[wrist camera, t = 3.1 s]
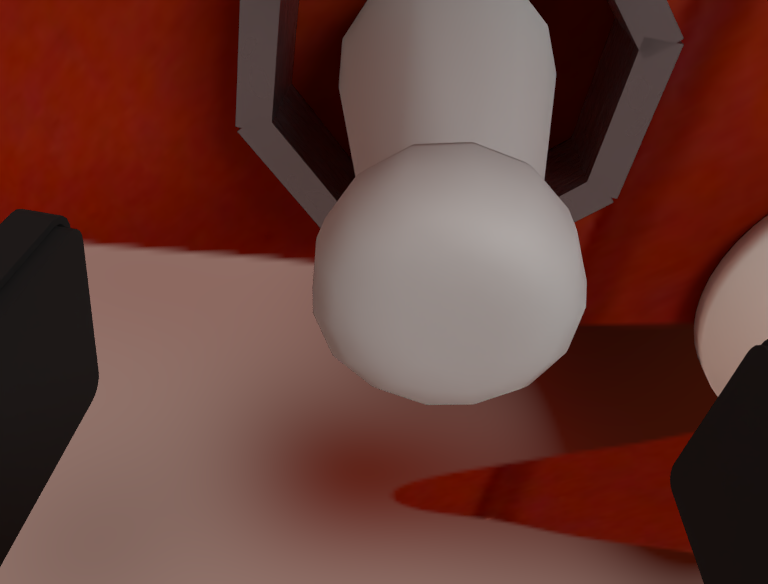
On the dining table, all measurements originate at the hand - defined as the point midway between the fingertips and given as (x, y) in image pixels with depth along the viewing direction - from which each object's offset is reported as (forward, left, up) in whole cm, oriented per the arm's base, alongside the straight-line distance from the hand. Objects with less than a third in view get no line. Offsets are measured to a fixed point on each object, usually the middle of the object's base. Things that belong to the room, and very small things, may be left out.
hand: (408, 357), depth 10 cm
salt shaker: (0, 0, -14) cm, 14 cm away
